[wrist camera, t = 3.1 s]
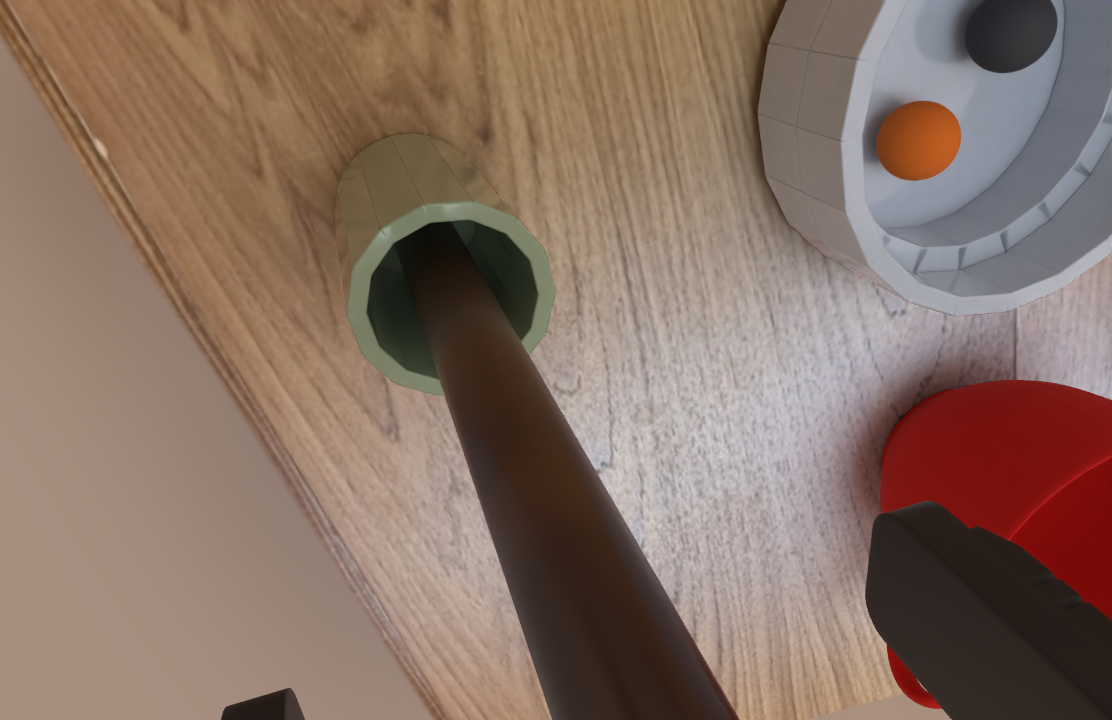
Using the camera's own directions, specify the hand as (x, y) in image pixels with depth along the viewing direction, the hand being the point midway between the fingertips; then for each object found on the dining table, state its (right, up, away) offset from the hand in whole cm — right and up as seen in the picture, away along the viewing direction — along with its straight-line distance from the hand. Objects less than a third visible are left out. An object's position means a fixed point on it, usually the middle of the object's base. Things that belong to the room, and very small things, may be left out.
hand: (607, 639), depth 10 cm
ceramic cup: (+18, -2, +32) cm, 37 cm away
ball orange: (+13, +13, +21) cm, 28 cm away
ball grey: (+16, +17, +20) cm, 31 cm away
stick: (-6, +9, +17) cm, 20 cm away
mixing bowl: (+14, +15, +21) cm, 30 cm away
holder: (-6, +9, +18) cm, 21 cm away
